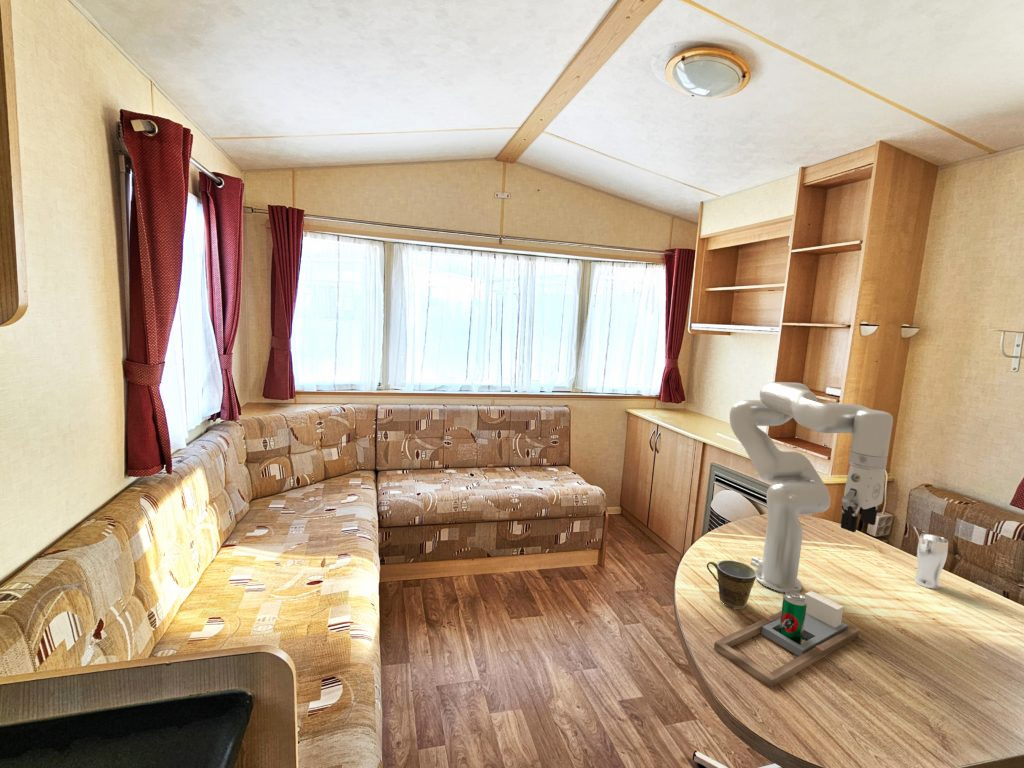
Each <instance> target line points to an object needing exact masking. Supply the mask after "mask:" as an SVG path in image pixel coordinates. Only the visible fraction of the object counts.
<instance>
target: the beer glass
mask: <svg viewBox="0 0 1024 768" xmlns="http://www.w3.org/2000/svg"><path fill="white" fill-rule="evenodd" d="M948 552H949V541H948V539H946V538H944V537H941V536H939V535H936V534H930V533H921V534H920V536H919V540H918V545H917V551H916V555H917V556H916V557H917V559H916V560H917V572H916V574H915V576H914V579H913V580H914V581H913V582H915V583H916V584H918V585H919V586H921V585H922V587H923V586H924V588H926V587H927V588H926V589H930V588H931V589H932V590H939V589H940V588H941V587H940V585H941V584H940V576H941V573H942V570H943V568H944V566H945V564H946V561H947V557H948Z"/></svg>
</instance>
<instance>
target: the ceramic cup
mask: <svg viewBox="0 0 1024 768" xmlns="http://www.w3.org/2000/svg"><path fill="white" fill-rule="evenodd" d="M709 565H712V566H713V567H715V569H716V573H717V576H716V575H715V574H714V573H713V571H712V570H711V569H710V568H709ZM706 569H707V570H708V572H709V573H710V574H711V576H712V577H713V578H714V580H715V581H716V582H717V584H718V595H719V597H718V598H720V599H719V600H720V602H721V601H722V602H723V603H724V604H726V605H728V606H730V607H729V608H731V607H732V608H731V609H733V608H740V609H739V610H743V609H744V608H745V607H746V605H747V604H748V600H749V599H750V598H749V597H750V595H751V591H752V589H753V586H754V584H755V581H756V571H757V570H755V569H754V568H753V567H752V566H750V565H748V564H746V563H744V562H740V561H736V560H728V559H727V560H721V561H718V562H717V563H716V562H715V561H709V562H708V563H707V564H706ZM722 602H721V603H722ZM723 603H722V604H723ZM724 604H723V605H724ZM726 605H725V606H726ZM728 606H727V607H728ZM742 608H743V609H742Z"/></svg>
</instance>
